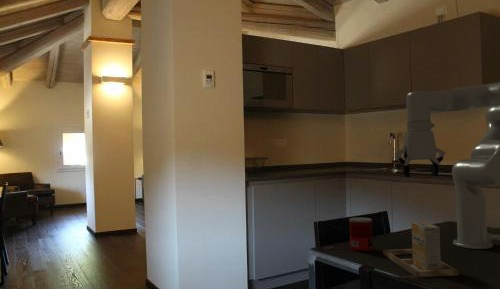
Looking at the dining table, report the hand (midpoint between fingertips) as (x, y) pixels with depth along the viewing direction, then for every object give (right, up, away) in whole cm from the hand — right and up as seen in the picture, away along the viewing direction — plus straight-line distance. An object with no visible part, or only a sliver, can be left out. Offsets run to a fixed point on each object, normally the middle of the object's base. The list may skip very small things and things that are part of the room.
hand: (420, 176), depth 136 cm
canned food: (-19, -27, +7) cm, 34 cm away
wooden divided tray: (-7, -26, -13) cm, 30 cm away
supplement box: (-7, -26, -19) cm, 33 cm away
